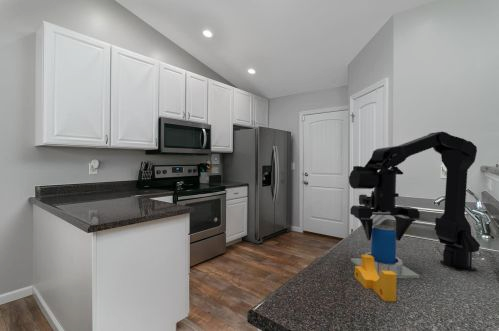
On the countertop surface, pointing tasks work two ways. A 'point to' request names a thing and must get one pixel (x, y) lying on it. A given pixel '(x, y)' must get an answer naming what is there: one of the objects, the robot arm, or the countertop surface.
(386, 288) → the pipe clamp
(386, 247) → the beverage can
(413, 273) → the duct collar
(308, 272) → the countertop surface
